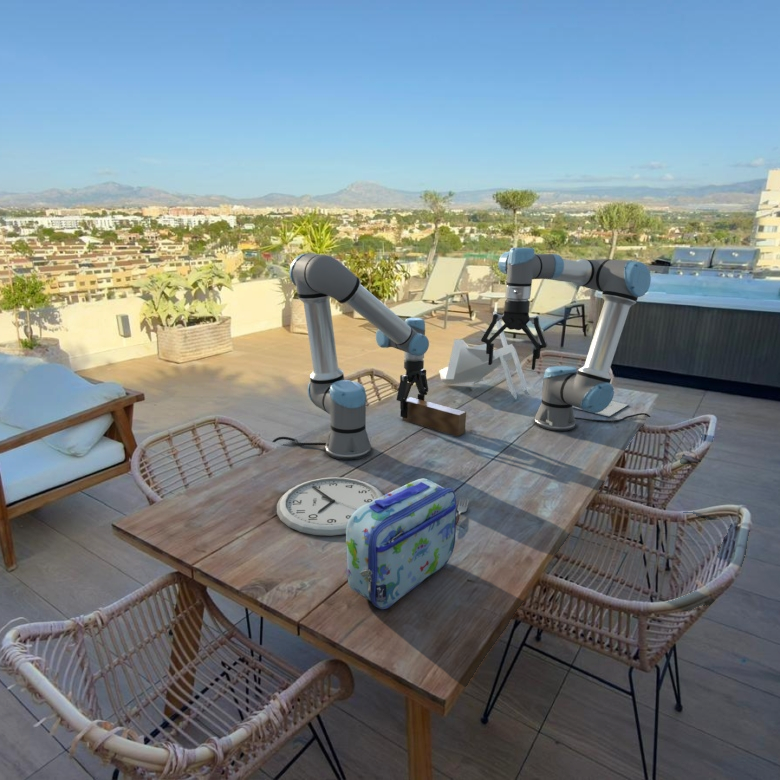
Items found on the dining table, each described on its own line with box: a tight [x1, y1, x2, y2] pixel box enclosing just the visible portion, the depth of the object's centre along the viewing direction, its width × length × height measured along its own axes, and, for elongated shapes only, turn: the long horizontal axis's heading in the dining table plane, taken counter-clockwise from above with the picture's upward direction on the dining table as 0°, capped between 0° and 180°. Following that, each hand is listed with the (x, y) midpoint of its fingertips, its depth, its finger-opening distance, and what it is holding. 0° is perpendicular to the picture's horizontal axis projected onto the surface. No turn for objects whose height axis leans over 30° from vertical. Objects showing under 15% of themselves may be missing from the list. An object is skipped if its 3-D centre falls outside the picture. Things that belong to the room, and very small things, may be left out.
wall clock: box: [276, 476, 385, 537], centre depth 142 cm, size 30×2×30 cm
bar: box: [401, 396, 467, 437], centre depth 200 cm, size 26×5×8 cm, turn 51°
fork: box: [456, 497, 470, 526], centre depth 137 cm, size 3×16×2 cm, turn 160°
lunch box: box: [345, 477, 457, 610], centre depth 110 cm, size 26×11×21 cm, turn 134°
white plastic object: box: [438, 310, 531, 400], centre depth 245 cm, size 37×45×31 cm
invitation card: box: [573, 400, 629, 418], centre depth 226 cm, size 21×1×15 cm
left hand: (412, 413), depth 206 cm, fingers open, 10 cm apart
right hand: (511, 366), depth 167 cm, fingers open, 13 cm apart
